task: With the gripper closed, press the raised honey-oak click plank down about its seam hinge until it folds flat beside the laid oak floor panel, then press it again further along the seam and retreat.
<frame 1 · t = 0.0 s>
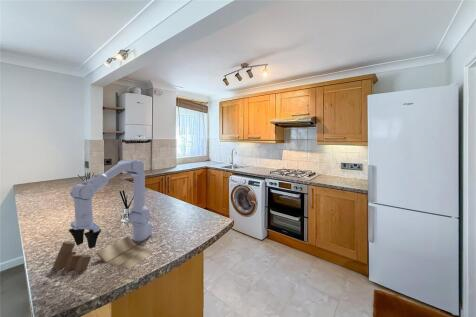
hand: (85, 245, 87), 10 cm above the worktop, fingers open, 7 cm apart
floor panel: (133, 258, 96), on the worktop
wooden block set: (70, 268, 89), on the worktop
oak plank: (117, 249, 99), point 3 cm above the worktop, hinge at 32.0°
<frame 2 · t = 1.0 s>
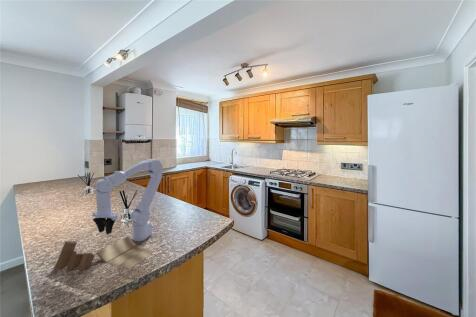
hand: (105, 232, 102), 9 cm above the worktop, fingers open, 4 cm apart
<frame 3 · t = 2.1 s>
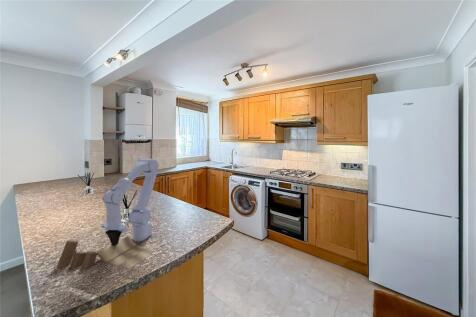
hand: (114, 244, 100), 5 cm above the worktop, fingers closed
oak plank: (117, 249, 99), point 3 cm above the worktop, hinge at 32.0°, touching gripper
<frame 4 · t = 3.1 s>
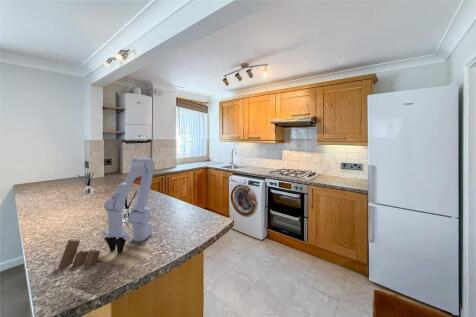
hand: (116, 251, 100), 1 cm above the worktop, fingers open, 4 cm apart
oak plank: (117, 252, 100), point 1 cm above the worktop, hinge at 3.1°, touching gripper
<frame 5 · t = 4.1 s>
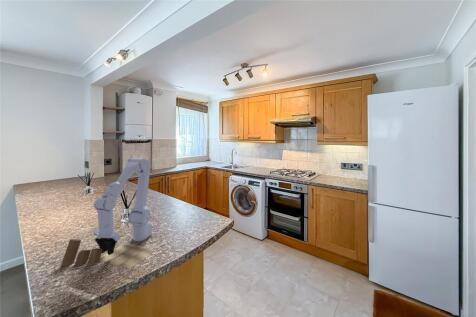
hand: (107, 253, 95), 3 cm above the worktop, fingers open, 4 cm apart
wooden block set: (78, 264, 93), on the worktop, touching gripper
oak plank: (117, 253, 100), point 1 cm above the worktop, hinge at 1.1°
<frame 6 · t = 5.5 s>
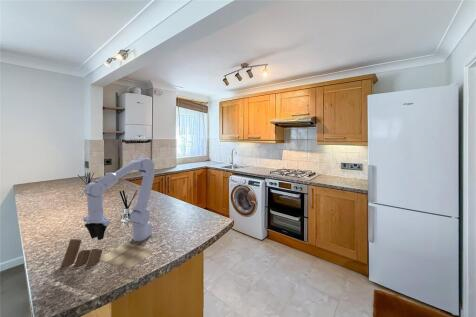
hand: (97, 238, 96), 9 cm above the worktop, fingers open, 4 cm apart
wooden block set: (78, 264, 93), on the worktop
everything else where it was.
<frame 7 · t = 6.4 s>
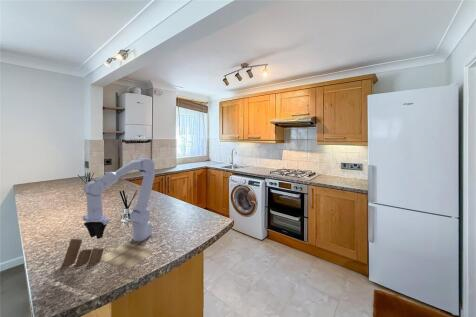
hand: (96, 237, 97), 9 cm above the worktop, fingers open, 4 cm apart
nothing on the worktop moved.
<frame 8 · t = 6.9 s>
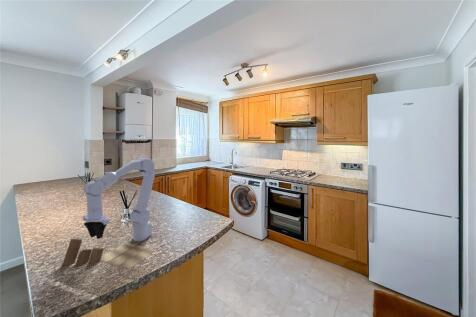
hand: (96, 237, 97), 9 cm above the worktop, fingers open, 4 cm apart
oak plank: (117, 252, 100), point 1 cm above the worktop, hinge at 1.7°
everything else where it was.
at the end: oak plank at +2° (first picture: +32°); the gripper is holding nothing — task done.
